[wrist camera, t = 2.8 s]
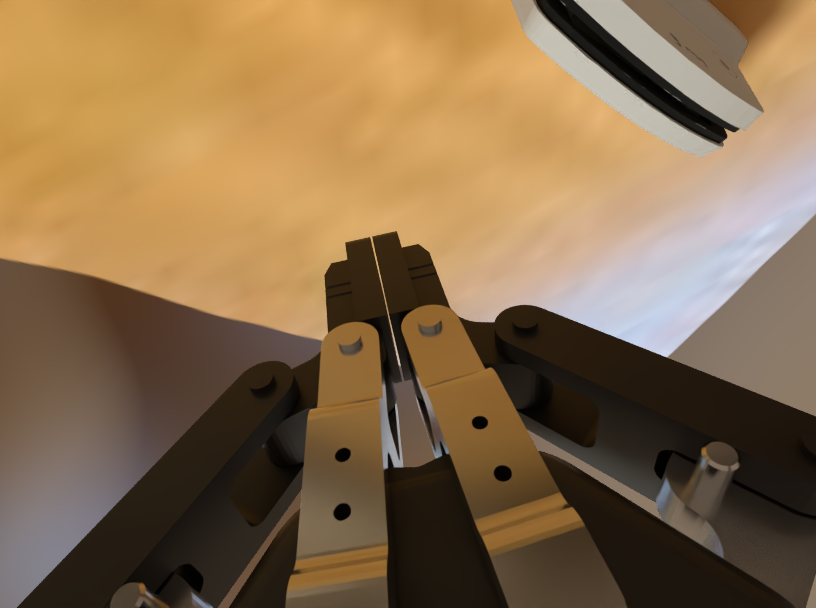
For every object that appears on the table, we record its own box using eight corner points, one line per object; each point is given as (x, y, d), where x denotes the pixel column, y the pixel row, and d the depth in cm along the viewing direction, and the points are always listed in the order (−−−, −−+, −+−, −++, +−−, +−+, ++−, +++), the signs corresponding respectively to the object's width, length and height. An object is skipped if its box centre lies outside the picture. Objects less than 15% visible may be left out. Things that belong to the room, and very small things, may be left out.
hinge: (741, 31, 32) (812, 128, 26) (675, 89, 35) (725, 186, 29) (551, -144, 25) (591, -63, 19) (491, -50, 28) (510, 42, 22)
